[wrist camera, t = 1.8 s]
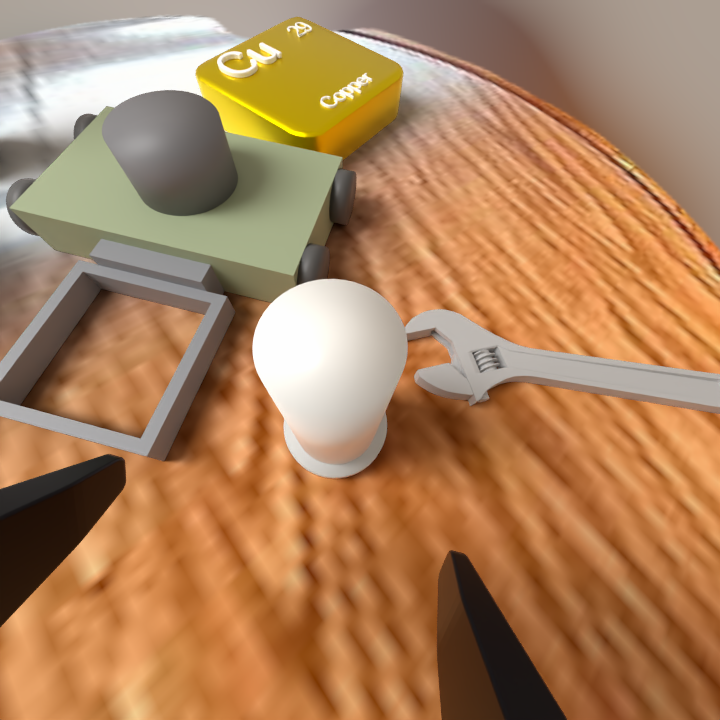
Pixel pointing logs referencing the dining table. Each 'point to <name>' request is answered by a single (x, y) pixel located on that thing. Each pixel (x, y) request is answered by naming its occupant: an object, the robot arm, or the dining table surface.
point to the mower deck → (169, 237)
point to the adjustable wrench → (547, 368)
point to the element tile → (303, 88)
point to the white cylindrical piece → (331, 371)
